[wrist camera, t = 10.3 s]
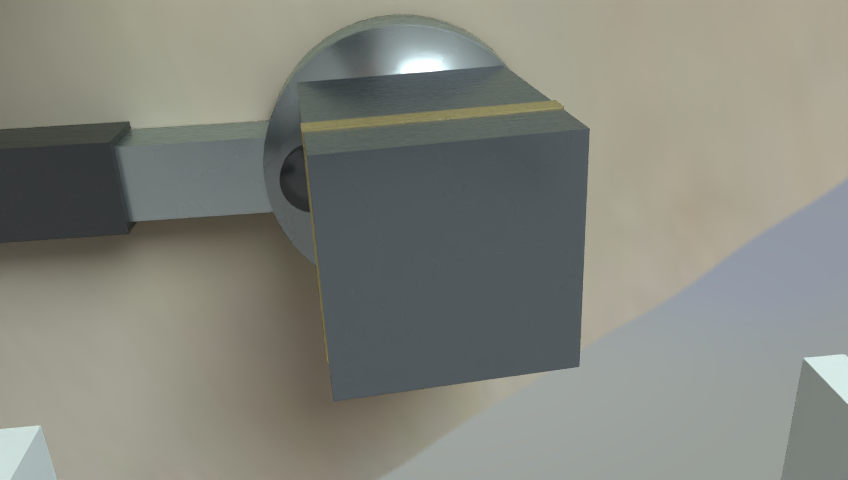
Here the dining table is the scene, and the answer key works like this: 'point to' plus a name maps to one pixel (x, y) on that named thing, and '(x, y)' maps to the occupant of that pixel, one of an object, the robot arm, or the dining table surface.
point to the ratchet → (206, 148)
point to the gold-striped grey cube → (444, 227)
